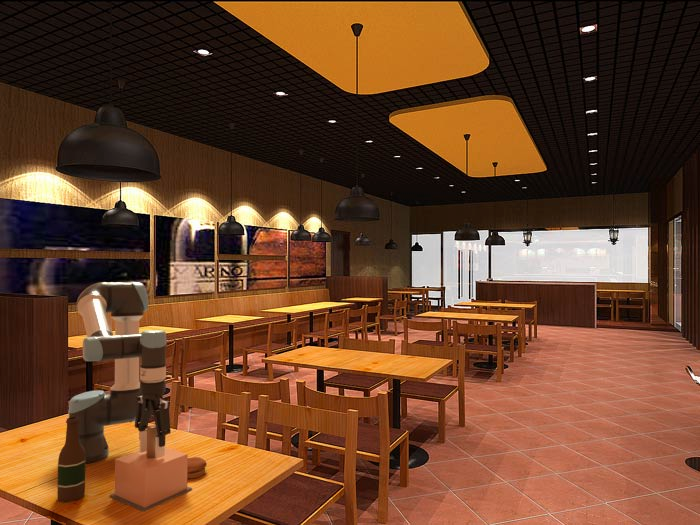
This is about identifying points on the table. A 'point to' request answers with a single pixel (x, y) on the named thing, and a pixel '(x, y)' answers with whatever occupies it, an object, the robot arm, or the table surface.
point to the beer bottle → (71, 465)
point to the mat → (151, 504)
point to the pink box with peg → (150, 473)
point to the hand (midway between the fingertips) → (151, 453)
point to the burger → (195, 467)
